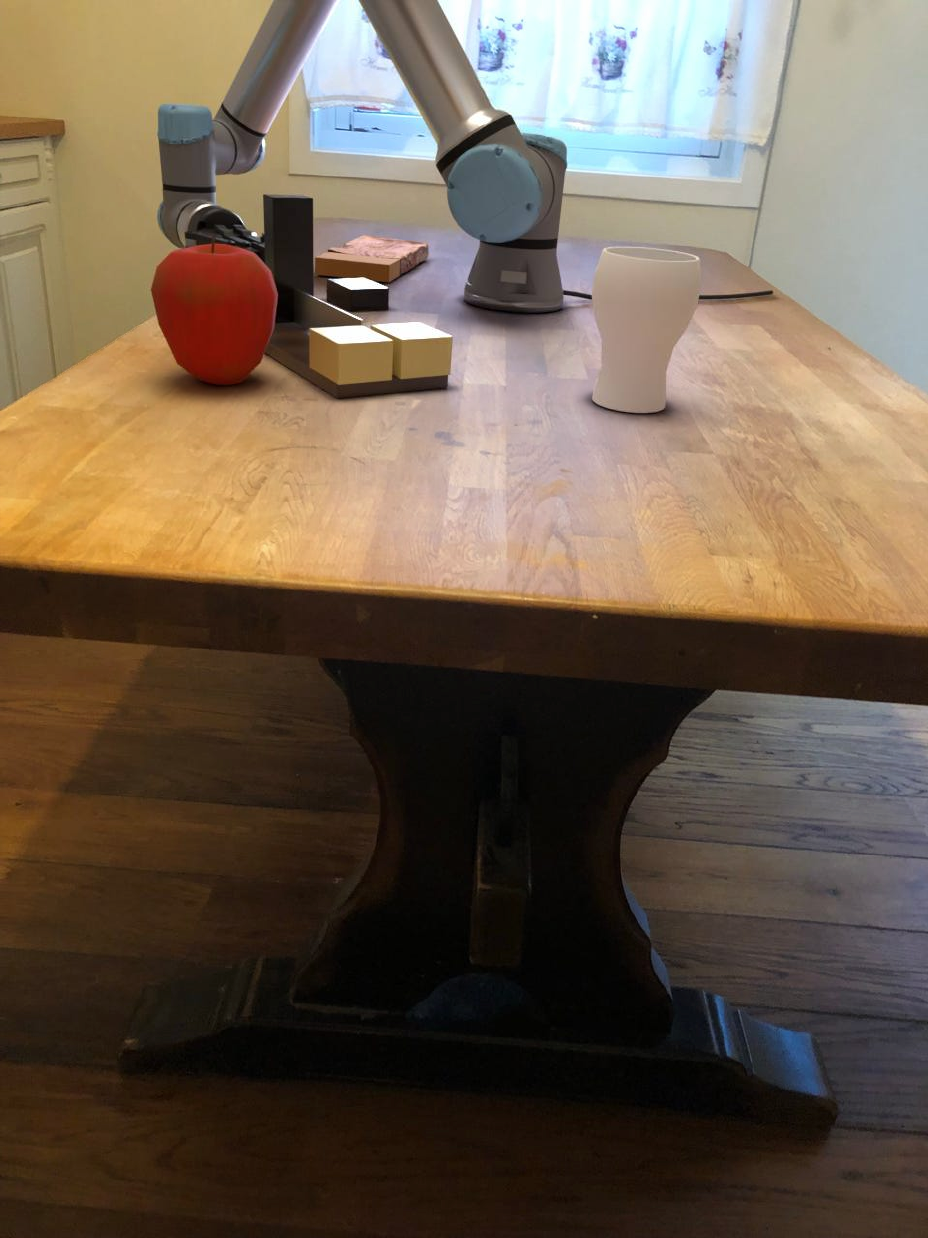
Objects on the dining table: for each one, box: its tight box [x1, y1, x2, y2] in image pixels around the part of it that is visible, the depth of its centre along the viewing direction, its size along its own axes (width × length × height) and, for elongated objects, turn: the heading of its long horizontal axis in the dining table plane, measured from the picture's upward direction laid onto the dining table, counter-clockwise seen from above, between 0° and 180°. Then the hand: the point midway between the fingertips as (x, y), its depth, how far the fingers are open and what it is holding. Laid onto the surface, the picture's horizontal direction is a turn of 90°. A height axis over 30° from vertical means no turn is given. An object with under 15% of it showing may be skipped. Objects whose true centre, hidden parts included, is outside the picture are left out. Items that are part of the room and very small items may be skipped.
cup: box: [591, 245, 702, 414], centre depth 97 cm, size 11×11×15 cm
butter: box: [309, 321, 454, 385], centre depth 99 cm, size 7×13×4 cm, turn 122°
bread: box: [314, 234, 430, 283], centre depth 166 cm, size 13×30×3 cm, turn 169°
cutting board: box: [264, 323, 449, 399], centre depth 110 cm, size 34×13×2 cm, turn 32°
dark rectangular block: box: [326, 278, 390, 312], centre depth 136 cm, size 8×6×3 cm
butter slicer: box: [262, 194, 364, 330], centre depth 107 cm, size 21×5×14 cm, turn 32°
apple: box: [150, 235, 278, 386], centre depth 94 cm, size 12×12×14 cm
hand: (276, 261), depth 116 cm, fingers closed
